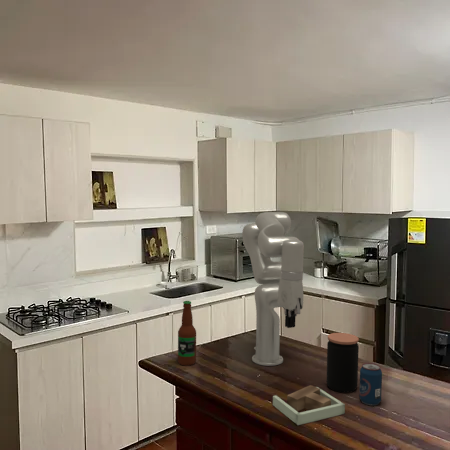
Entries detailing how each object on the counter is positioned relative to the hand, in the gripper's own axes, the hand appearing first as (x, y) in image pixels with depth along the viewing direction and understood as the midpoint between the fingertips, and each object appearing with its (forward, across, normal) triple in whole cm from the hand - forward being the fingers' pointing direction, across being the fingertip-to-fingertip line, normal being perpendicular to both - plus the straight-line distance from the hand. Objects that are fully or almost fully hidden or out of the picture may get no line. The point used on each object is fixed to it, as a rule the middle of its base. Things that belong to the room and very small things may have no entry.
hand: (290, 326), depth 159 cm
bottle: (+23, -35, -26) cm, 49 cm away
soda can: (+21, +21, +19) cm, 35 cm away
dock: (+21, +18, -4) cm, 28 cm away
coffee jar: (+22, +8, +17) cm, 29 cm away
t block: (+21, +17, -1) cm, 27 cm away
